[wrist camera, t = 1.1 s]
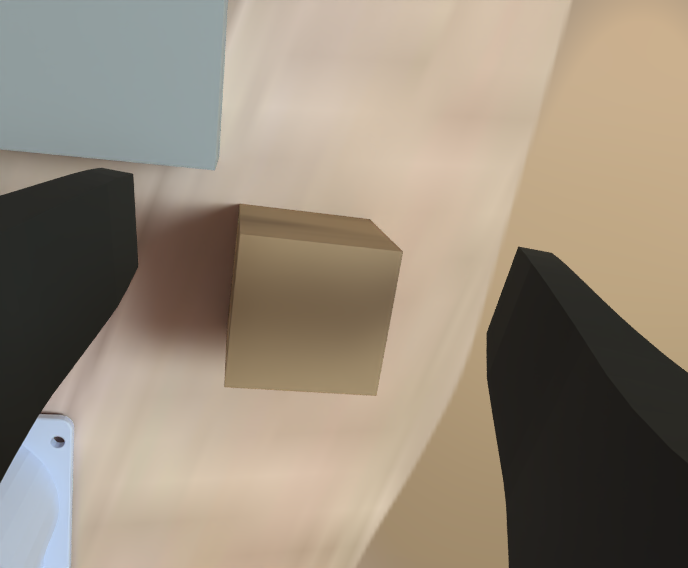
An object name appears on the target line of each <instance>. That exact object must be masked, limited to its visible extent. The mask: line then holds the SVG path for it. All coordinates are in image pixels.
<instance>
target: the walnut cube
mask: <svg viewBox="0 0 688 568" xmlns="http://www.w3.org/2000/svg"><path fill="white" fill-rule="evenodd" d="M402 254H403V251H402V250H401V249H400V248H399V247H398V246H397V245H396V244H395V243H394V242H392V241H391V240H390V239H389V238H388V237H387V236H386V235H385V234H384V233H383V232H382V231H381V230H380V229H379V228H378V227H377V226H376V225H375V224H374V223H373V222H372V221H371V220H370V219H363V218H354V217H346V216H338V215H329V214H321V213H313V212H304V211H296V210H288V209H279V208H271V207H263V206H254V205H246V204H240V206H239V216H238V226H237V235H236V245H235V255H234V265H233V275H232V284H231V294H230V304H229V314H228V324H227V340H226V362H225V385H224V387H231V388H248V389H266V390H283V391H301V392H318V393H336V394H353V395H371V396H376V395H377V389H378V384H379V379H380V373H381V368H382V362H383V357H384V352H385V346H386V341H387V335H388V330H389V324H390V319H391V314H392V308H393V303H394V297H395V292H396V287H397V281H398V276H399V270H400V265H401V260H402Z"/></svg>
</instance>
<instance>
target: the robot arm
mask: <svg viewBox="0 0 688 568" xmlns="http://www.w3.org/2000/svg"><path fill="white" fill-rule="evenodd" d="M137 268H138V253H137V235H136V217H135V198H134V180H133V174H131V173H126V172H121V171H115V170H110V169H105V168H97V169H91V170H86V171H82V172H78V173H74V174H70V175H67V176H64V177H60V178H57V179H54V180H50V181H47V182H44V183H40V184H37V185H34V186H31V187H27V188H24V189H21V190H18V191H14V192H11V193H8V194H5V195H1V196H0V568H71V536H72V494H73V451H74V424H73V422H72V420H71V419H70V418H68V417H67V416H64V415H52V414H40V413H41V411H42V410H43V408H44V407H45V405H46V404H47V402H48V401H49V399H50V398H51V396H52V395H53V393H54V392H55V391H56V389H57V388H58V387H59V385H60V384H61V383H62V381H63V380H64V379H65V377H66V376H67V375H68V373H69V372H70V371H71V369H72V368H73V367H74V365H75V364H76V363H77V361H78V360H79V359H80V357H81V356H82V355H83V353H84V352H85V351H86V349H87V348H88V347H89V345H90V344H91V343H92V341H93V340H94V339H95V337H96V336H97V334H98V333H99V332H100V330H101V329H102V328H103V326H104V325H105V324H106V322H107V321H108V319H109V318H110V317H111V315H112V314H113V312H114V311H115V310H116V308H117V307H118V305H119V303H120V301H121V299H122V298H123V296H124V294H125V292H126V290H127V288H128V286H129V284H130V282H131V280H132V278H133V276H134V274H135V272H136V270H137ZM487 381H488V388H489V394H490V401H491V407H492V414H493V420H494V426H495V432H496V438H497V444H498V451H499V456H500V463H501V469H502V475H503V482H504V491H505V499H506V511H507V534H508V555H509V568H688V372H686V371H685V370H684V369H682V368H681V367H680V366H678V365H677V364H676V363H674V362H673V361H672V360H671V359H669V358H668V357H667V356H665V355H664V354H663V353H662V352H661V351H659V350H658V349H657V348H656V347H655V346H653V345H652V344H651V343H650V342H649V341H648V340H646V339H645V338H644V337H643V336H642V335H640V334H639V333H638V332H637V331H636V330H634V329H633V328H632V327H631V326H630V325H629V324H628V323H627V322H626V321H625V320H623V319H622V318H621V317H620V316H619V315H618V314H617V313H616V312H615V311H614V310H613V309H611V307H610V306H608V305H607V304H606V303H605V302H604V301H603V300H602V299H601V298H600V297H599V296H598V295H597V294H596V293H595V292H594V291H593V290H592V289H591V288H590V287H589V286H588V285H587V284H586V283H584V281H582V280H581V279H580V278H579V277H578V276H577V275H576V274H575V273H574V272H573V271H572V270H571V269H570V268H569V267H568V266H567V265H566V264H565V263H563V262H562V261H561V260H560V259H559V258H558V257H556V256H555V255H554V254H552V253H549V252H544V251H538V250H534V249H528V248H522V247H518V249H517V252H516V255H515V257H514V260H513V263H512V265H511V268H510V271H509V274H508V276H507V279H506V282H505V285H504V287H503V290H502V293H501V296H500V298H499V301H498V304H497V306H496V309H495V312H494V315H493V317H492V320H491V323H490V325H489V328H488V331H487ZM56 436H59V437H62V438H63V439H64V440H65V442H61V443H60V442H57V441H55V440H54V437H56Z"/></svg>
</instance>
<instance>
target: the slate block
mask: <svg viewBox="0 0 688 568" xmlns="http://www.w3.org/2000/svg"><path fill="white" fill-rule="evenodd" d="M227 8H228V0H0V149H2V150H12V151H23V152H33V153H43V154H53V155H64V156H74V157H84V158H94V159H105V160H115V161H125V162H135V163H146V164H156V165H166V166H176V167H187V168H197V169H207V170H215V169H216V165H217V162H218V159H219V150H220V132H221V114H222V97H223V79H224V61H225V44H226V26H227Z"/></svg>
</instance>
